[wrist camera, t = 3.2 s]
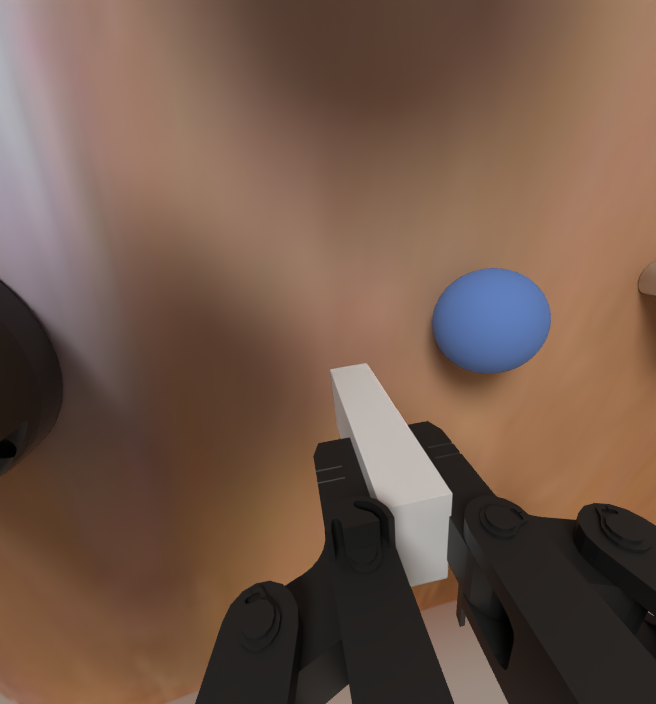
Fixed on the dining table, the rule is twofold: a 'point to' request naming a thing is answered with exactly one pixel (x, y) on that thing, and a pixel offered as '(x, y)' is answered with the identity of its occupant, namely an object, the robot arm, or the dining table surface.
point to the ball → (491, 320)
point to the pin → (648, 280)
